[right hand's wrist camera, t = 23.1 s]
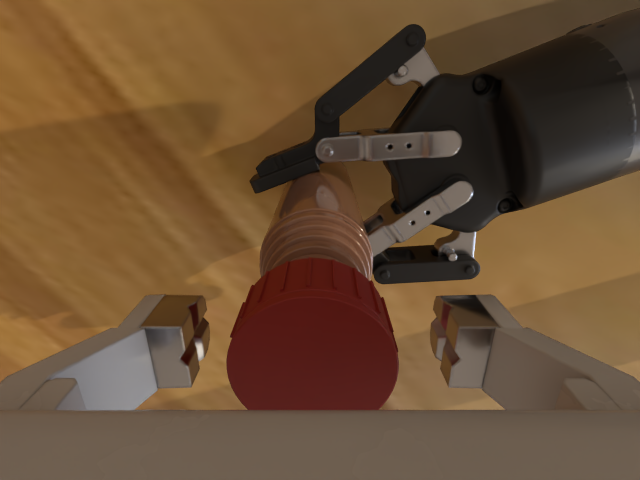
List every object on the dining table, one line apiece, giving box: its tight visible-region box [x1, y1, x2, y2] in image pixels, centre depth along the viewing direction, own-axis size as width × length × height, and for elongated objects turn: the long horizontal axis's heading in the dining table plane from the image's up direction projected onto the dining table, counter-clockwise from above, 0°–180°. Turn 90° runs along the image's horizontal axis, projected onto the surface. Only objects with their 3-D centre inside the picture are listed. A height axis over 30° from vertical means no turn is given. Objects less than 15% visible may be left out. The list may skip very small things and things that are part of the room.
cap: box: [227, 257, 399, 410], centre depth 9 cm, size 4×4×2 cm
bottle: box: [260, 162, 373, 281], centre depth 17 cm, size 4×4×18 cm
